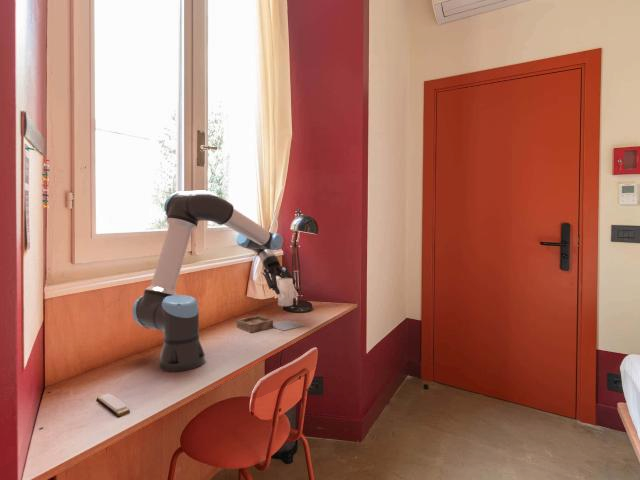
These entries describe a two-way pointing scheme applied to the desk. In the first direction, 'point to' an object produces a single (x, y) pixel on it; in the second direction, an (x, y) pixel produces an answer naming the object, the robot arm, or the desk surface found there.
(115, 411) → the harmonica
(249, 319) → the holder
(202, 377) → the desk surface
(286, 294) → the white rounded piece
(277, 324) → the mat
